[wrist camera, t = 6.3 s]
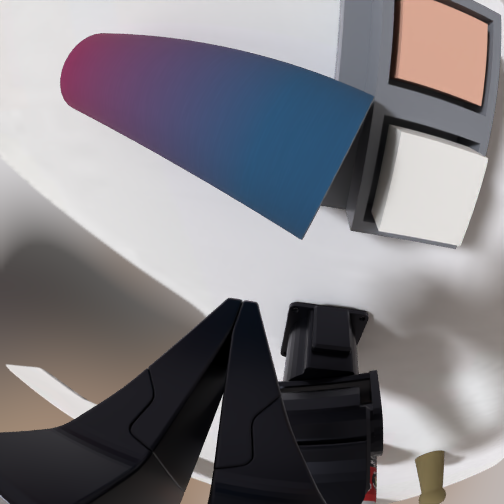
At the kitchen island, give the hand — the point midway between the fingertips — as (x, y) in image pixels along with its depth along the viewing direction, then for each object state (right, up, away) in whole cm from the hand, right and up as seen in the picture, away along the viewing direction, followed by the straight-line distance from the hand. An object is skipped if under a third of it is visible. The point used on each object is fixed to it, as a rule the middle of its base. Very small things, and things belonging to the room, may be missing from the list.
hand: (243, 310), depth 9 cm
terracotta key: (+9, +12, +2) cm, 15 cm away
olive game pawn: (+34, -37, +31) cm, 59 cm away
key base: (+9, +10, +6) cm, 15 cm away
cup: (-9, +12, +5) cm, 16 cm away
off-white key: (+8, +5, +4) cm, 11 cm away
